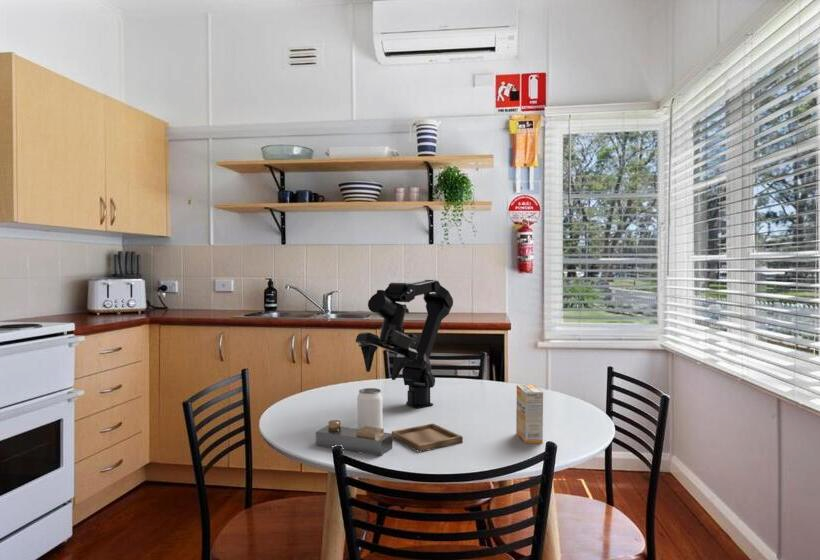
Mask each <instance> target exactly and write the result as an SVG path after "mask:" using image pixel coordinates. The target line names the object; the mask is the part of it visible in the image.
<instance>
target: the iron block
mask: <svg viewBox="0 0 820 560" xmlns="http://www.w3.org/2000/svg"><path fill="white" fill-rule="evenodd" d="M341 425H342V423H341V420H339V419H332V420H329V421H328V424H327V425H326V426H323V427H322V428H320V429H317V430H316V431H315V446H317V447H322V448H329V449H333V448H332V446H335V445H342V446H343V448H344V450H343V451H347V452H348V451H349V452H353V451H355V452H354V453H359V452H361V453H360V454H367V455H371V454H372V456H379V457H382V456H384V455H385V454H386V453H388V452H389V451H390V450H392V449H393V438H392V432H391V433H390V432H385V431H384V428H383V427H382V428H375V427H367V426H365V427H363V428H361V429H357V427H356V428H355V427H347V426H341ZM387 451H388V452H387ZM384 453H385V454H384ZM383 454H384V455H383Z"/></svg>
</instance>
